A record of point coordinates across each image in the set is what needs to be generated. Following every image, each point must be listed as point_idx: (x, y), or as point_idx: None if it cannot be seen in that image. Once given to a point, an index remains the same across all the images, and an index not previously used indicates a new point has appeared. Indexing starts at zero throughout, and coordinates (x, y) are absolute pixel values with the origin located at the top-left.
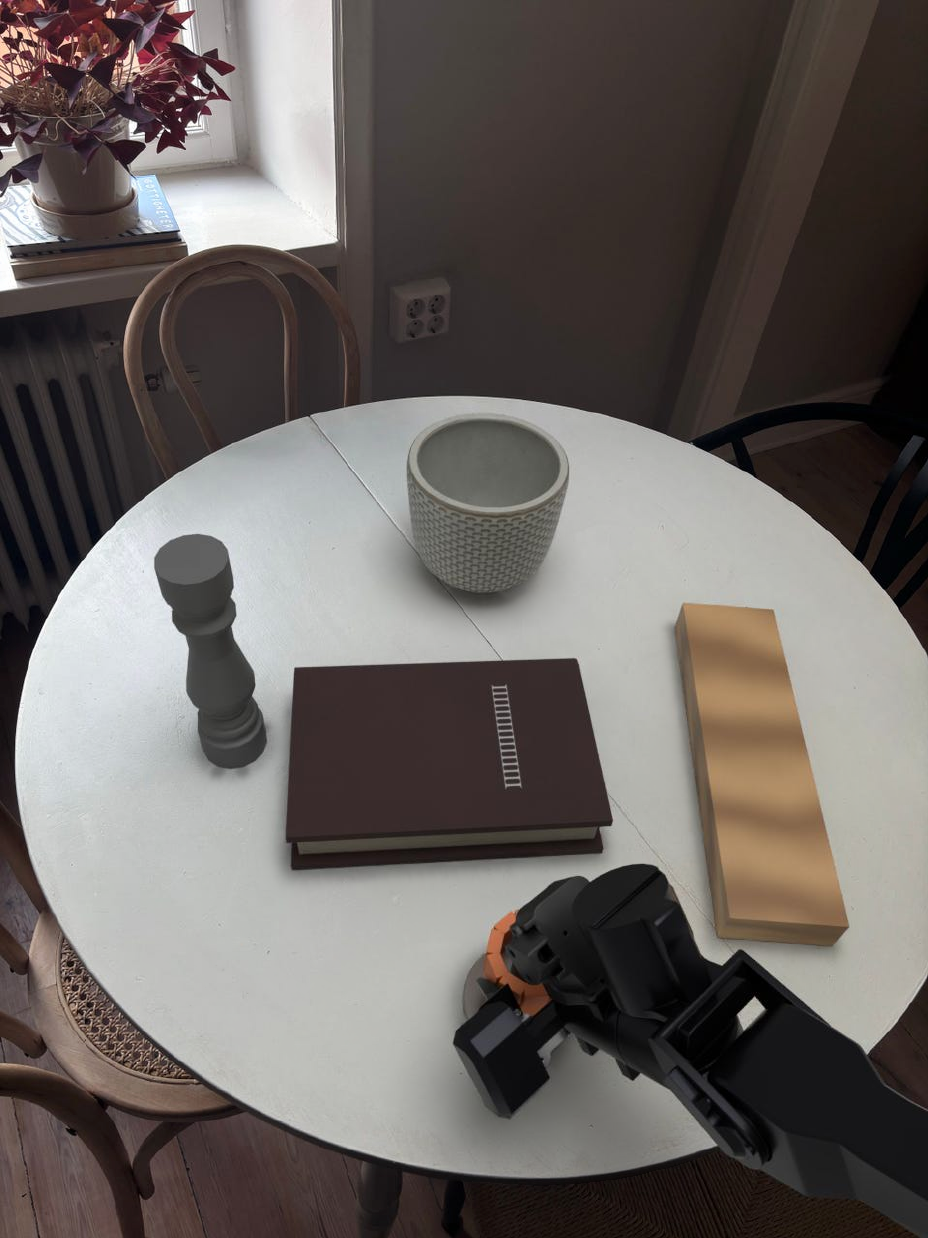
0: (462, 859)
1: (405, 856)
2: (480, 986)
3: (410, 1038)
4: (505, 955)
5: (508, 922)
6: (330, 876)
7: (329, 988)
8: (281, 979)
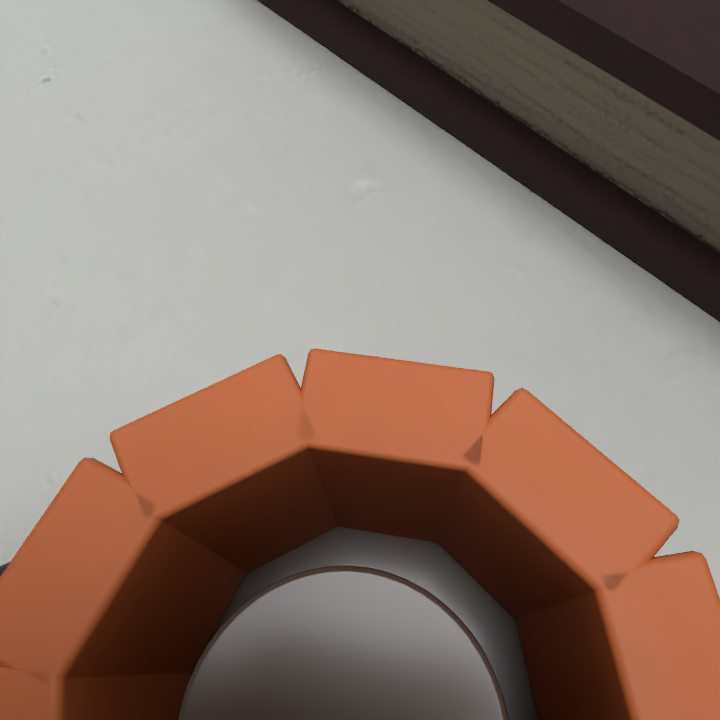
0: (599, 229)
1: (467, 111)
2: (2, 565)
3: (58, 481)
4: (358, 548)
5: (405, 410)
6: (291, 48)
7: (52, 229)
8: (6, 140)
